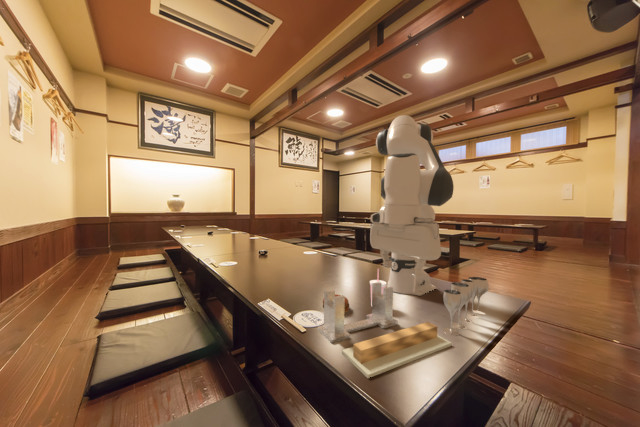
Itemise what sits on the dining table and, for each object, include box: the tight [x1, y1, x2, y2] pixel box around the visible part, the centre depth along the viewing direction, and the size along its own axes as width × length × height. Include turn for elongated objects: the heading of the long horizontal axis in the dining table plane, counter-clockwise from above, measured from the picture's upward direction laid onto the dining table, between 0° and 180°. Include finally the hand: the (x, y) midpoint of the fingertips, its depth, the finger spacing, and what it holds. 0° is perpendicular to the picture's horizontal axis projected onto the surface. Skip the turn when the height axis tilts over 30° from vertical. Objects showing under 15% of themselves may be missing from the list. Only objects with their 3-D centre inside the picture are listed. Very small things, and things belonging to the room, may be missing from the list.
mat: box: [341, 334, 453, 379], centre depth 62 cm, size 28×10×1 cm, turn 118°
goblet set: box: [442, 276, 490, 337], centre depth 79 cm, size 28×6×13 cm, turn 130°
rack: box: [317, 282, 399, 344], centre depth 73 cm, size 24×8×12 cm, turn 118°
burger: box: [322, 294, 350, 315], centre depth 86 cm, size 10×9×5 cm
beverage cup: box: [369, 268, 387, 307], centre depth 89 cm, size 6×6×14 cm
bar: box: [352, 321, 438, 364], centre depth 62 cm, size 26×3×3 cm, turn 118°
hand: (400, 271), depth 62 cm, fingers open, 8 cm apart
